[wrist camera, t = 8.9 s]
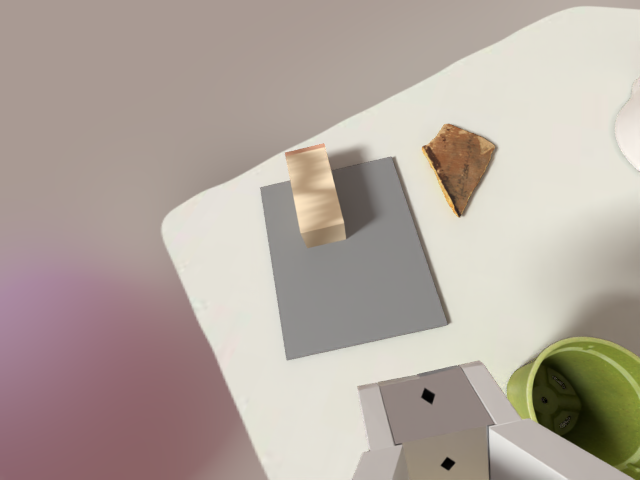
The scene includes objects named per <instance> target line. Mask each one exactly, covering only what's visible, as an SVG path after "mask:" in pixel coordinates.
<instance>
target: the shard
mask: <svg viewBox="0 0 640 480" xmlns="http://www.w3.org/2000/svg"><path fill="white" fill-rule="evenodd" d="M494 149H495V145H494V144H492V143H491V142H489V141H487V140H486V139H485V138H483V137H481V136H478V135H476V134H474V133H470V132H468V131H465V130H463V129H460V128H457V127H455V126H453V125H451V124H444V125H443V127H442V128H441V130H440V131H439V133H438V134H437V136H436V137H435V138H434V139H433V140H432V141H431V142H430V143H429V144H428V145H425V146H423V147H422V151H423V154H424V155H425V156H426V157H427V159H428V161H429V163H430V166H431V167H432V169H433V170H434V172H435V174H436V176H437V179H438V182H439V184H440V187H441V188H442V191H443V194H444V195H445V198H446V201H447V202H448V204H449V206H450V207H451V208H452V210H453V212H454V213H455V214H456V215H457V216H458V217H459V218H460V216H461V214H462V213H463V210H464V208H465V207H466V205H467V202H468V199H469V198H470V195H471V194H472V192H473V190H474V188H475V187H476V186H477V184H478V182H479V181H480V178H481V177H482V175H483V174H484V172H485V170H486V167H487V166H488V163H489V161H490V159H491V154H492V152H493V150H494Z"/></svg>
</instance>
